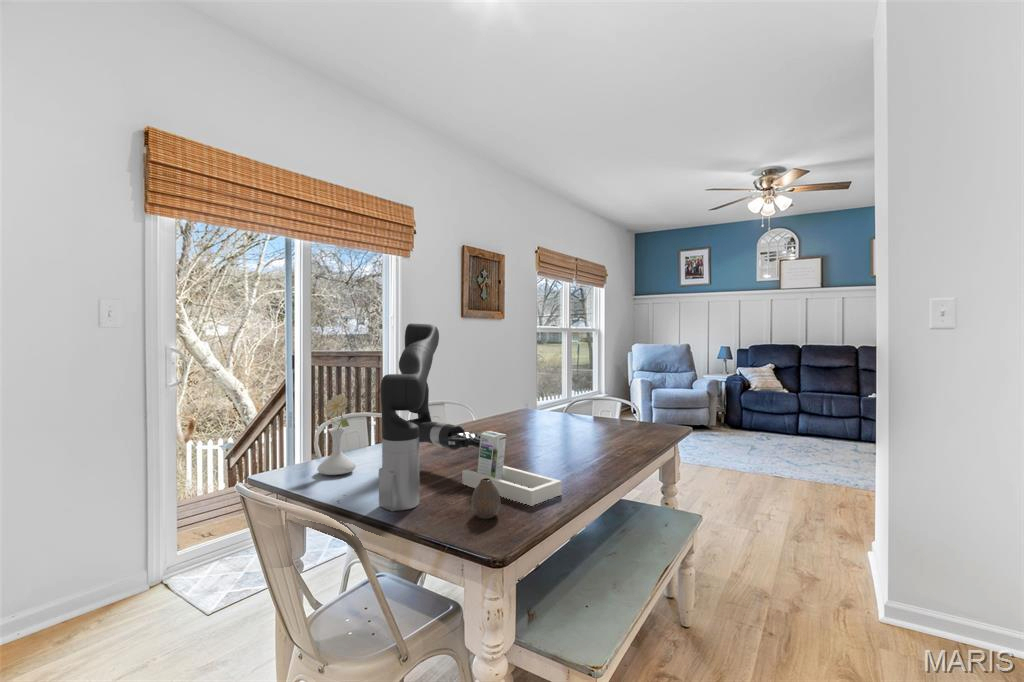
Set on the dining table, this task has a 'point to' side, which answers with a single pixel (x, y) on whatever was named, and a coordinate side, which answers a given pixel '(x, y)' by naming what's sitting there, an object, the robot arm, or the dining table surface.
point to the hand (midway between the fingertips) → (484, 444)
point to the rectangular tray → (518, 485)
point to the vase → (486, 499)
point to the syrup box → (492, 454)
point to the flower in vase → (336, 440)
